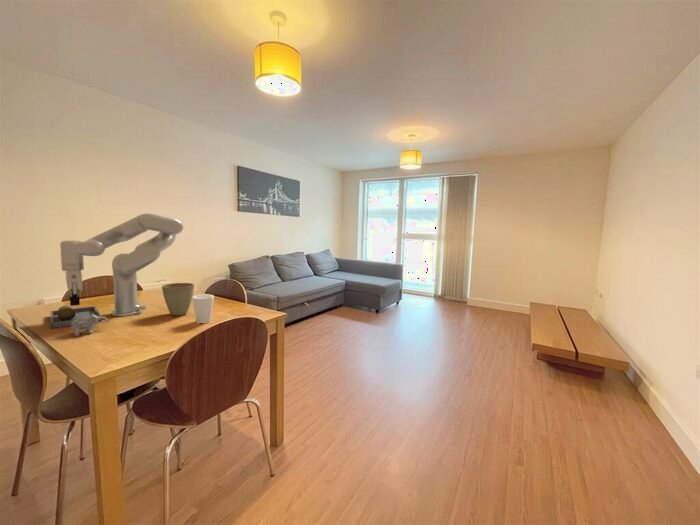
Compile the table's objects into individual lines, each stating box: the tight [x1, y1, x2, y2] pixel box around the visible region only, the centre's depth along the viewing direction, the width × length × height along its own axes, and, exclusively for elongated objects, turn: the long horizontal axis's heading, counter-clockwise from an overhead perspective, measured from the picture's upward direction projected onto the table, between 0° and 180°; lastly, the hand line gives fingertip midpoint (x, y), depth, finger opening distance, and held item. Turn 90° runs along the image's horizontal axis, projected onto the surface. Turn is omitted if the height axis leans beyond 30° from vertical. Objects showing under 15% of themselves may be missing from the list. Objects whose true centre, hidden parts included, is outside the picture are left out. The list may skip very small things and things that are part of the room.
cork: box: [58, 305, 76, 321], centre depth 139 cm, size 6×6×11 cm
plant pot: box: [161, 282, 195, 316], centre depth 154 cm, size 15×15×16 cm
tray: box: [50, 305, 102, 330], centre depth 139 cm, size 24×17×2 cm
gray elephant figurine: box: [70, 313, 110, 338], centre depth 124 cm, size 9×12×8 cm
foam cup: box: [192, 293, 215, 324], centre depth 144 cm, size 10×9×13 cm
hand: (75, 304), depth 137 cm, fingers closed
